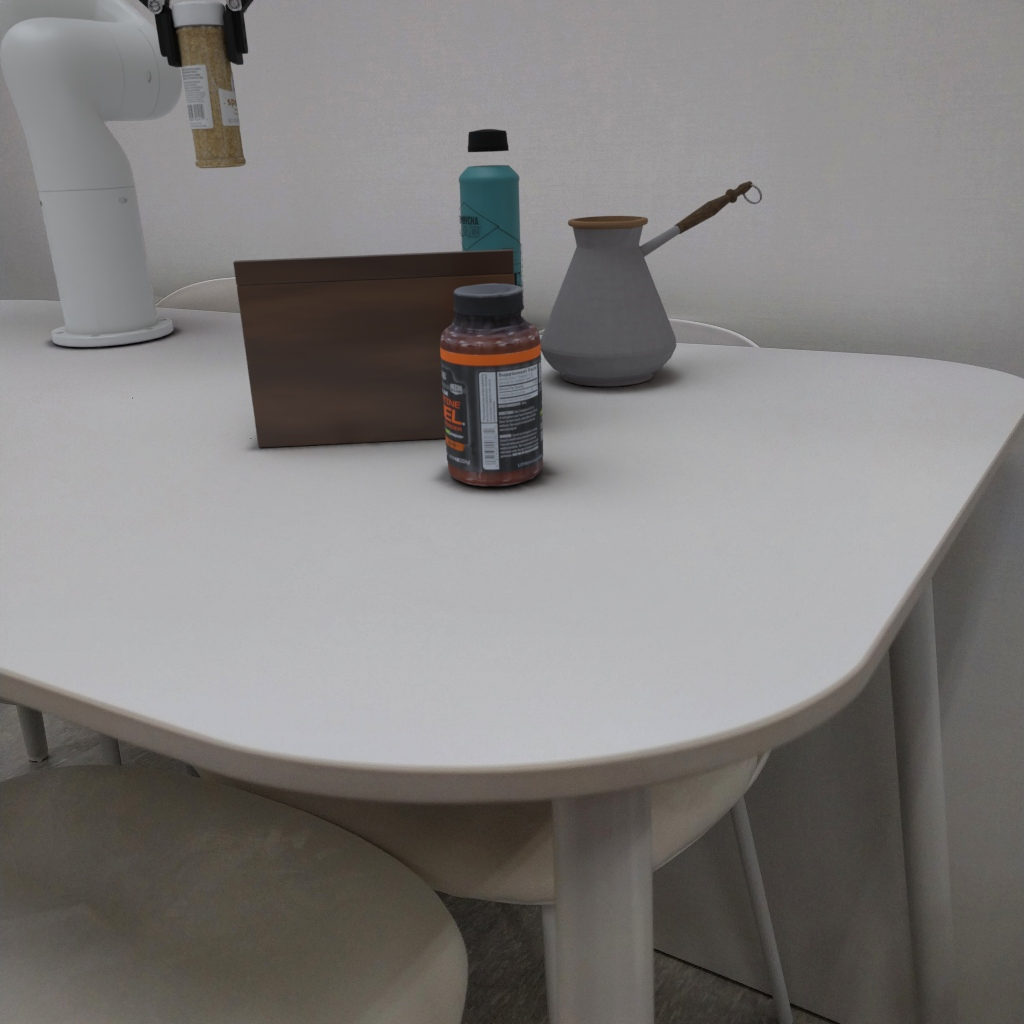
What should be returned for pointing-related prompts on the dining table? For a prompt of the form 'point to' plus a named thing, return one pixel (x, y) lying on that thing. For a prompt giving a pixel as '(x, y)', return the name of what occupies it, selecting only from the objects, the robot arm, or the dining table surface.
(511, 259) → the shelf
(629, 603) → the dining table surface
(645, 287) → the coffee pot
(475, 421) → the supplement bottle
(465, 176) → the beverage bottle
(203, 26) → the spice jar
